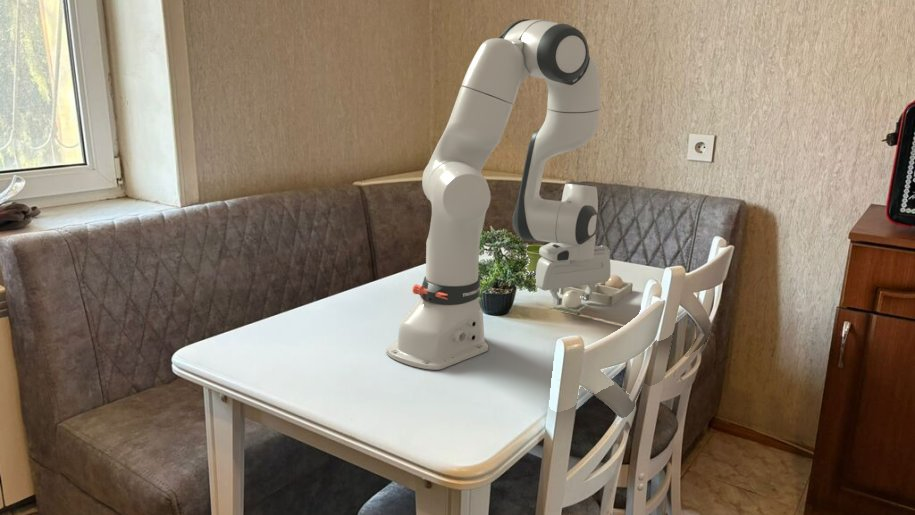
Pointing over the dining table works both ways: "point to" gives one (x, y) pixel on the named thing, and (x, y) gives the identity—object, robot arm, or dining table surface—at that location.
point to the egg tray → (603, 292)
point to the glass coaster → (570, 309)
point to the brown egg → (614, 282)
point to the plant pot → (533, 256)
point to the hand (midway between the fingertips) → (571, 302)
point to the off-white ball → (571, 299)
